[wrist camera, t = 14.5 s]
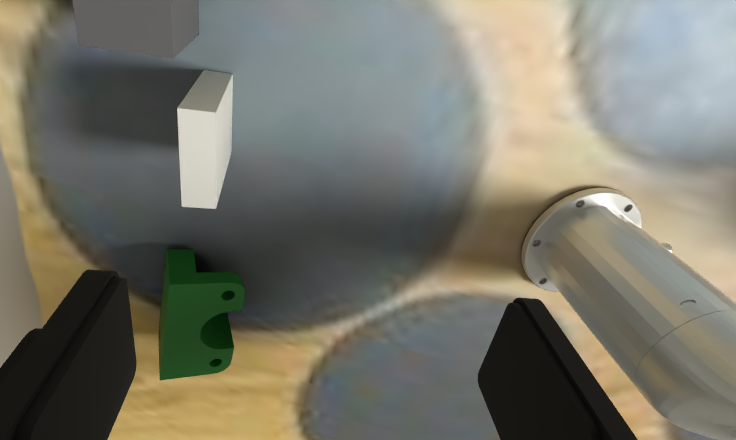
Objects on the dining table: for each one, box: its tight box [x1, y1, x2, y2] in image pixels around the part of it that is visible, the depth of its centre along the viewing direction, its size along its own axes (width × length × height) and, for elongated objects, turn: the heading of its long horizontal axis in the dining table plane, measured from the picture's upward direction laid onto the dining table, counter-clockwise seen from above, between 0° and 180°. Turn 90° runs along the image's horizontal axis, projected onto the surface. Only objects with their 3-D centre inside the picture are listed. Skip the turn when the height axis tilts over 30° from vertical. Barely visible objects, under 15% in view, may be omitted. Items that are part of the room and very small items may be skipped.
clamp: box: [159, 249, 245, 380], centre depth 39 cm, size 12×6×9 cm, turn 158°
